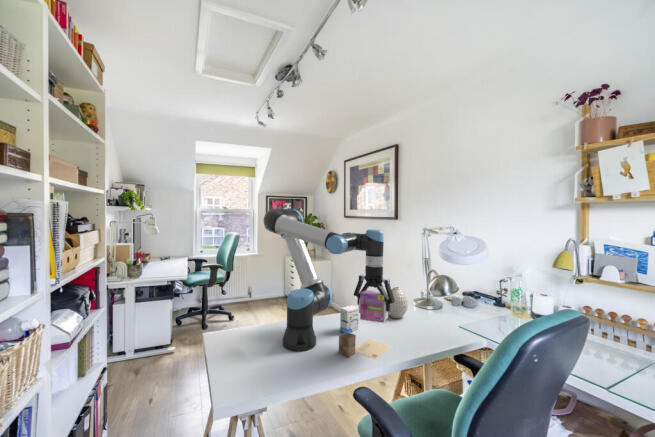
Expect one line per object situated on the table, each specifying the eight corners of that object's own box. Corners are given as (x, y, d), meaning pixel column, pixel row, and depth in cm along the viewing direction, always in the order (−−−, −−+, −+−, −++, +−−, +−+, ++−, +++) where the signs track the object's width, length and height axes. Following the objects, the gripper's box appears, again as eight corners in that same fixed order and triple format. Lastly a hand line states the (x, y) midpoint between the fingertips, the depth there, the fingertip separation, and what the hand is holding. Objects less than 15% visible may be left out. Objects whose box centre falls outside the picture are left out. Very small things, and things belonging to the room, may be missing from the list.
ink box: (346, 334, 145) (347, 310, 145) (339, 331, 149) (340, 308, 148) (358, 330, 151) (359, 307, 150) (351, 327, 154) (352, 304, 154)
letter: (352, 351, 128) (352, 350, 128) (369, 339, 140) (369, 338, 140) (375, 359, 122) (375, 358, 122) (391, 346, 134) (391, 345, 134)
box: (359, 319, 130) (360, 292, 129) (362, 315, 135) (363, 289, 135) (383, 323, 126) (384, 295, 126) (386, 318, 131) (386, 292, 131)
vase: (383, 311, 178) (384, 284, 178) (406, 313, 177) (406, 285, 176) (385, 319, 166) (385, 289, 165) (408, 321, 164) (409, 291, 163)
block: (338, 354, 125) (339, 335, 125) (345, 350, 129) (345, 331, 129) (348, 358, 122) (349, 339, 122) (355, 353, 126) (355, 335, 126)
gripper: (346, 263, 134) (345, 311, 134) (396, 270, 120) (395, 324, 120) (355, 261, 140) (354, 307, 141) (403, 267, 126) (402, 319, 127)
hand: (373, 315), depth 131 cm, fingers closed on box, 11 cm apart
